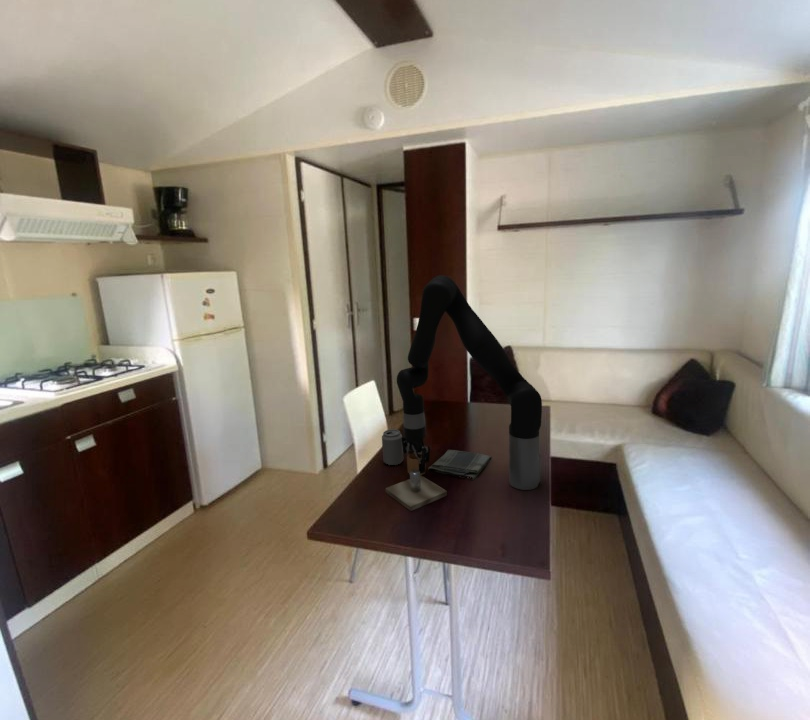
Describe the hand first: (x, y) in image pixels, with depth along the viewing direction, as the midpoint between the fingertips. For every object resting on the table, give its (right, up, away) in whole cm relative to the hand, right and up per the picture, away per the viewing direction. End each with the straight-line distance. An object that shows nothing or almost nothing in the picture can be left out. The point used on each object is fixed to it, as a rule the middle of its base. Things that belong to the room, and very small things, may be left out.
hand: (416, 469), depth 151 cm
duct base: (-1, -4, -14) cm, 15 cm away
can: (-8, 0, +9) cm, 12 cm away
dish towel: (+16, 0, +4) cm, 16 cm away
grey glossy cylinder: (-1, -3, -15) cm, 15 cm away
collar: (0, -1, 0) cm, 1 cm away
